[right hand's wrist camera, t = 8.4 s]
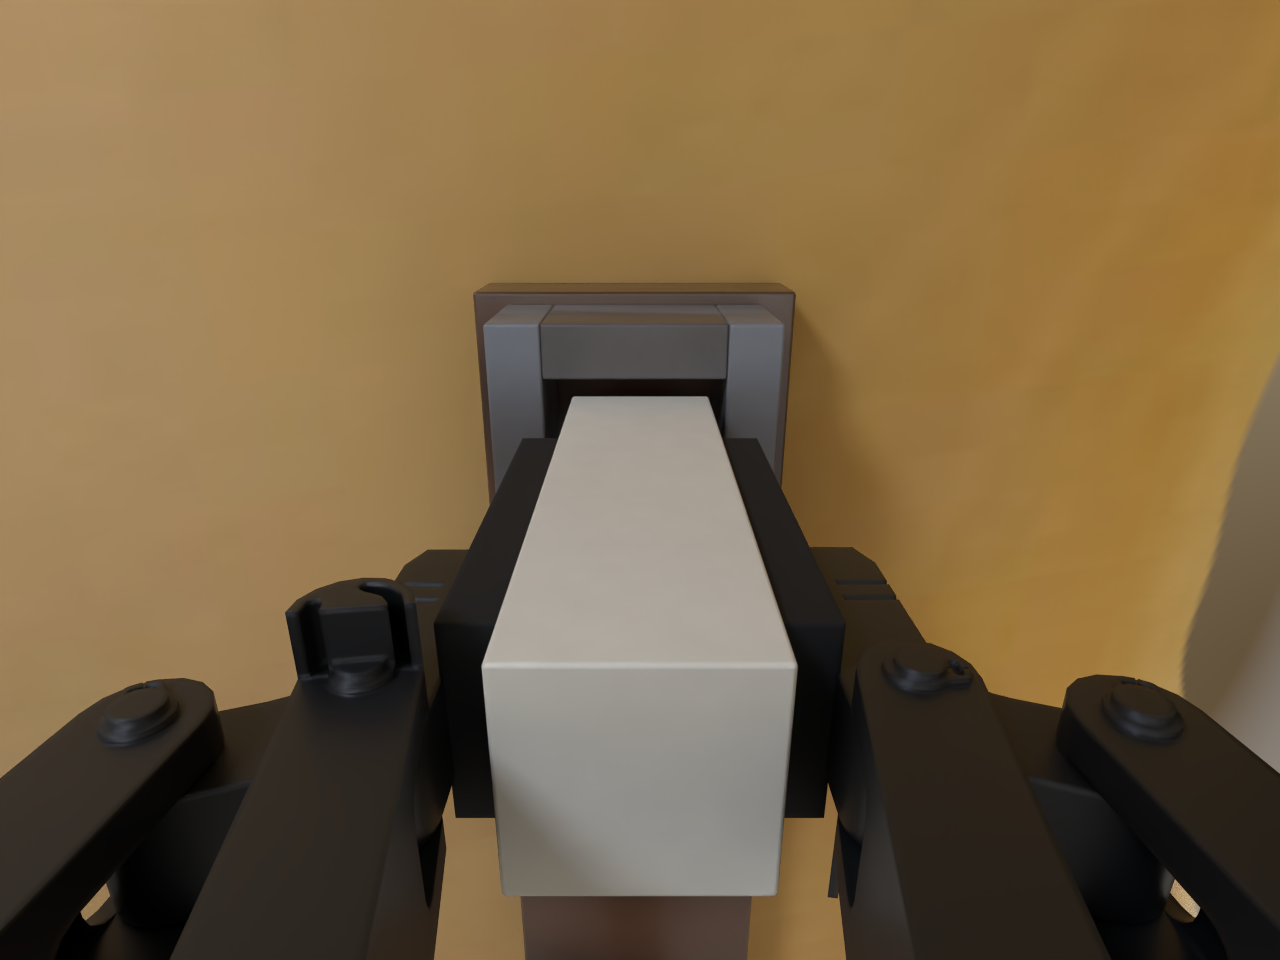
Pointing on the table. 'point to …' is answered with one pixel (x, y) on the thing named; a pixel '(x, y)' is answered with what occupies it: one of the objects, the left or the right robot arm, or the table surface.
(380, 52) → the table surface
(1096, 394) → the table surface
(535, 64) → the table surface
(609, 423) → the peg
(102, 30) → the table surface
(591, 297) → the peg board
